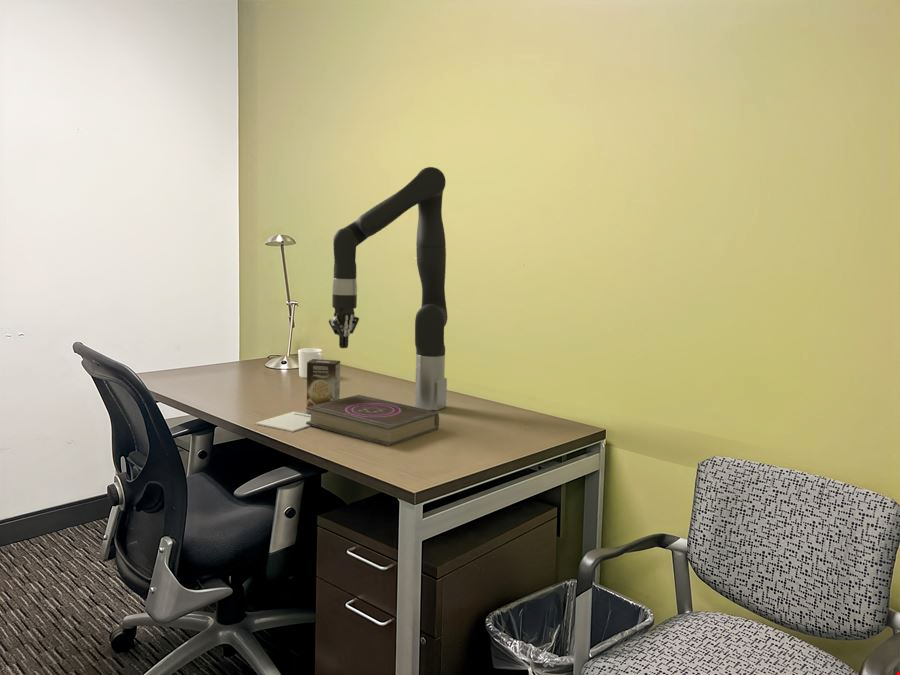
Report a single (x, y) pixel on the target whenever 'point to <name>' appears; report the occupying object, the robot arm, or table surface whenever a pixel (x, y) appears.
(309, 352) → the mug
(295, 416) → the mat
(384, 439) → the book
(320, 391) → the coffee box
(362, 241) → the robot arm
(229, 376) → the table surface
